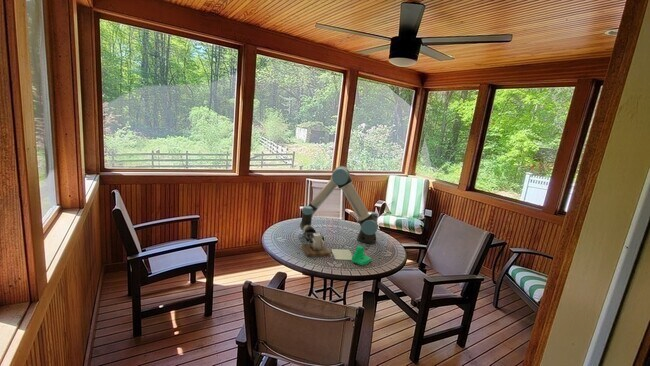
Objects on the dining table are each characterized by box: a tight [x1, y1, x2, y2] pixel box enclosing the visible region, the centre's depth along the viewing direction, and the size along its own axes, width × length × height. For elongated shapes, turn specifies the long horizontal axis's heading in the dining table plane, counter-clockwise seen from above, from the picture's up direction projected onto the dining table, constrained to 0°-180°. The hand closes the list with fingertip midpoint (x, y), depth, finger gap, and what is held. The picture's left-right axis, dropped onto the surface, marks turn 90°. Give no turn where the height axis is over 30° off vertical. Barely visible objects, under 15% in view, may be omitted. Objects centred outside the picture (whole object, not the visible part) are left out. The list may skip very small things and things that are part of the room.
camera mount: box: [350, 245, 372, 266], centre depth 196 cm, size 12×8×10 cm, turn 137°
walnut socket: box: [301, 243, 332, 258], centre depth 205 cm, size 16×16×2 cm
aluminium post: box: [311, 232, 323, 251], centre depth 204 cm, size 5×5×12 cm
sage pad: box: [331, 248, 353, 261], centre depth 205 cm, size 13×16×1 cm
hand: (319, 244), depth 199 cm, fingers closed on aluminium post, 5 cm apart
